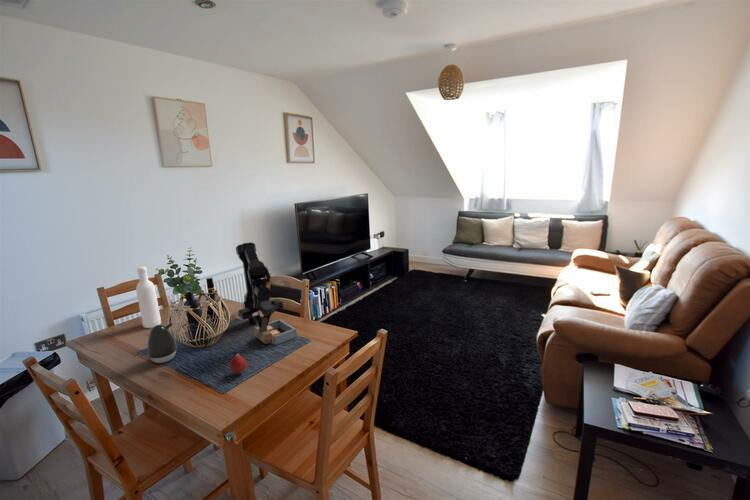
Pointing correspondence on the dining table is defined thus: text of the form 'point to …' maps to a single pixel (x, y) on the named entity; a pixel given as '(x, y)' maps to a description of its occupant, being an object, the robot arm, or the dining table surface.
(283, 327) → the box
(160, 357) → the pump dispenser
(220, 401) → the dining table surface
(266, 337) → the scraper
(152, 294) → the bottle
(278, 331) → the block
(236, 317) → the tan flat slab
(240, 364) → the onion
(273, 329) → the block
